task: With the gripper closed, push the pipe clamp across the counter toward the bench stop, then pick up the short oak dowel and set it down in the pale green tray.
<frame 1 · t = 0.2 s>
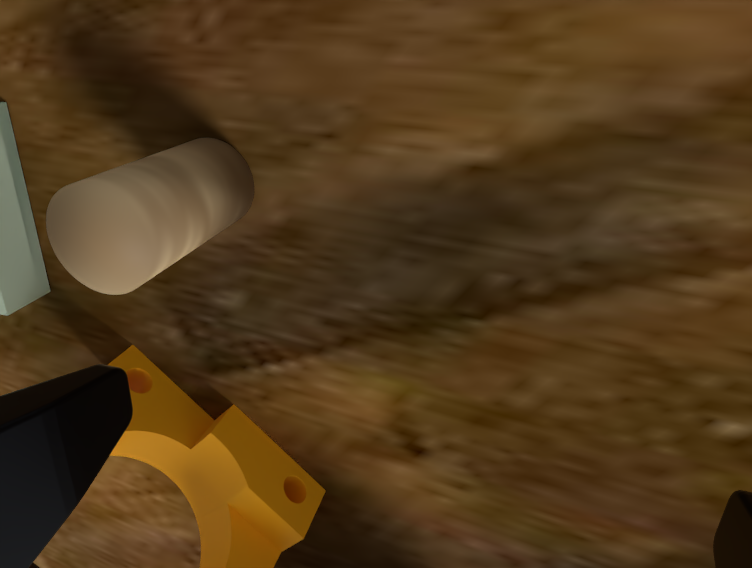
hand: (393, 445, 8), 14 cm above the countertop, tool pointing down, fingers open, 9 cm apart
oak dowel: (213, 182, 24), on the countertop
pipe clamp: (220, 425, 30), on the countertop
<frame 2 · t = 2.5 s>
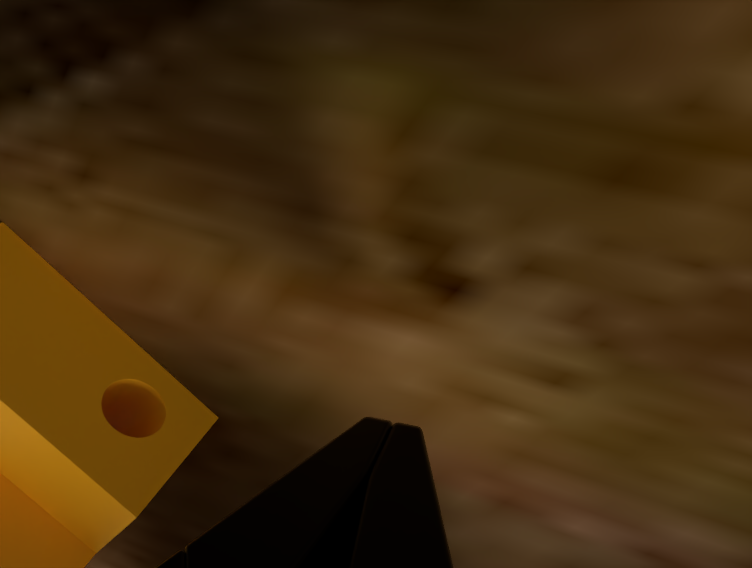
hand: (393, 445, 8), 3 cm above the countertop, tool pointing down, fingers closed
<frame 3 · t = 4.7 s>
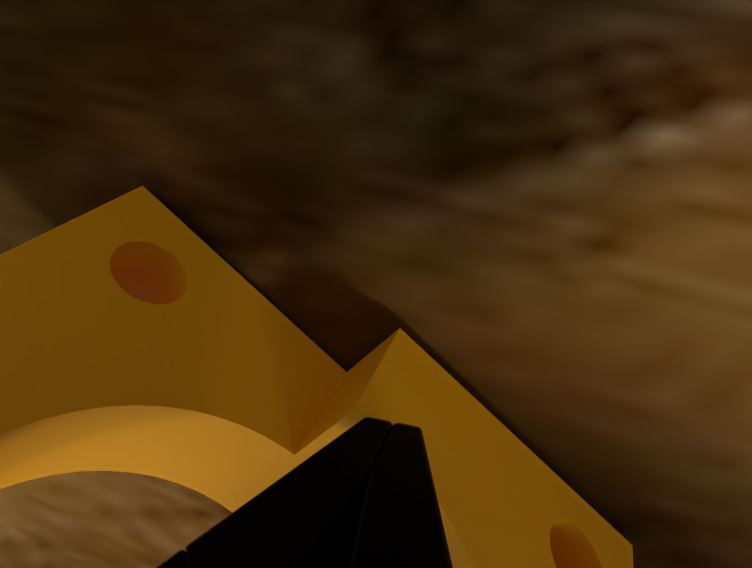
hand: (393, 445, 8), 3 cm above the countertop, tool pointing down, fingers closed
pipe clamp: (354, 390, 12), on the countertop
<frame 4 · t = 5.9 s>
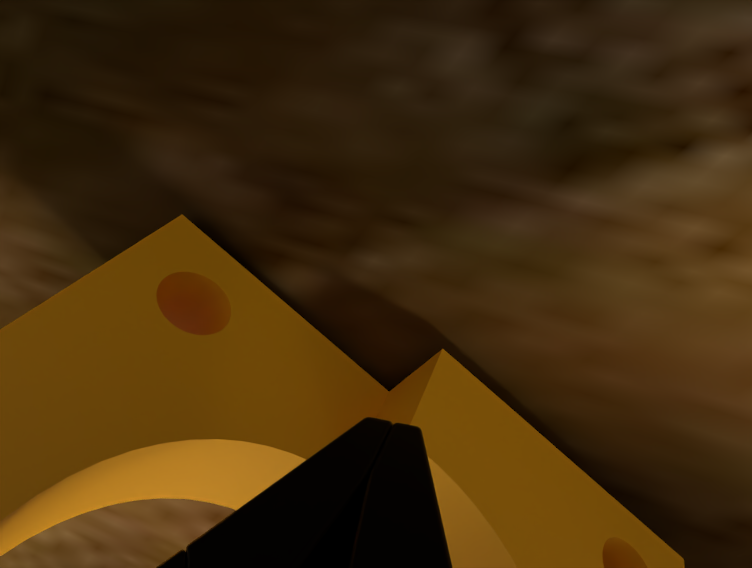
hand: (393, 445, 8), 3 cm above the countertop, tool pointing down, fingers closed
pipe clamp: (396, 408, 12), on the countertop, touching gripper
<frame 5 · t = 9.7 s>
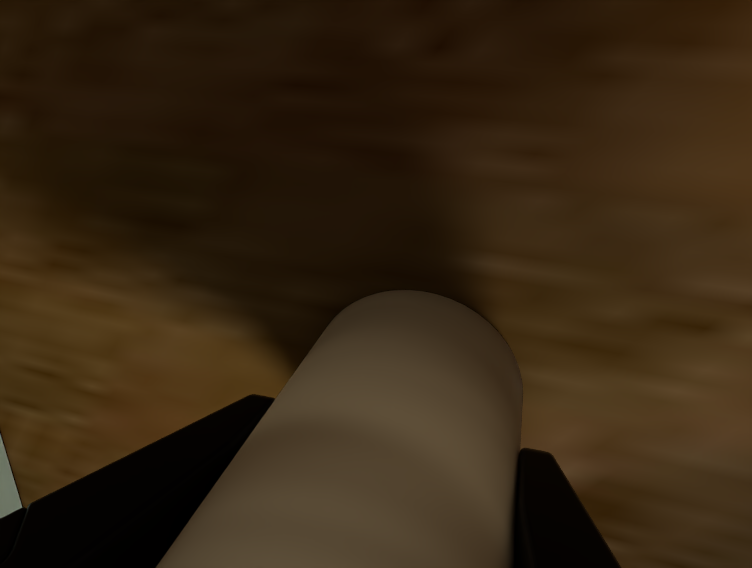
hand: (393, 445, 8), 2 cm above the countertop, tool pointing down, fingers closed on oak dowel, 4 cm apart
oak dowel: (414, 386, 10), on the countertop, touching gripper
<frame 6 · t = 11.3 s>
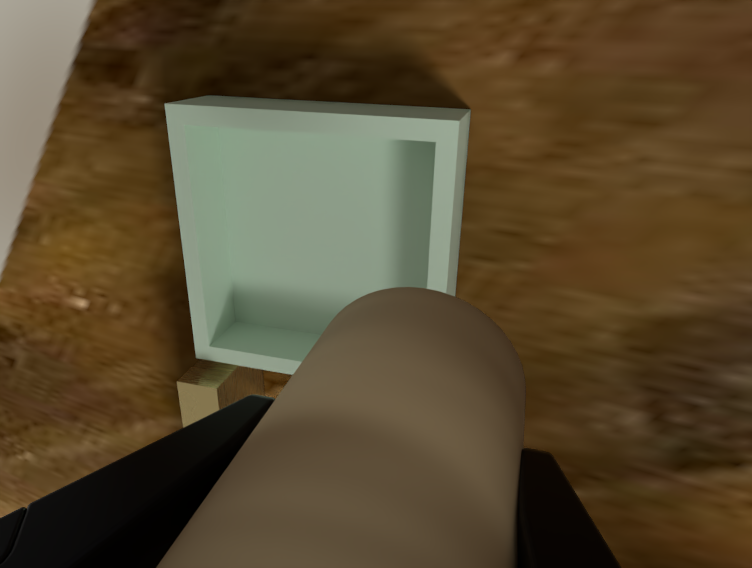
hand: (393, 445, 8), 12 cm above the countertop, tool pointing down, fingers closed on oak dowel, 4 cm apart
oak dowel: (416, 383, 10), point 10 cm above the countertop, touching gripper
bench stop: (252, 454, 26), on the countertop
tray: (333, 232, 21), on the countertop
when the fingers open (4 cm above the countertop, at t = 13.4 s): oak dowel drops 2 cm, resting on tray.
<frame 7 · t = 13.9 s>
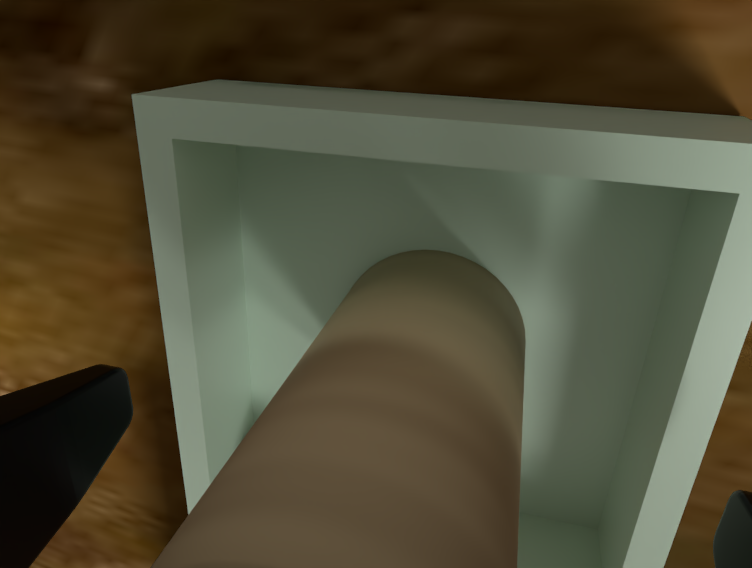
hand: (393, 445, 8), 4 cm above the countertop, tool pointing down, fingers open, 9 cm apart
oak dowel: (430, 336, 11), point 1 cm above the countertop, touching tray
tray: (434, 324, 12), on the countertop
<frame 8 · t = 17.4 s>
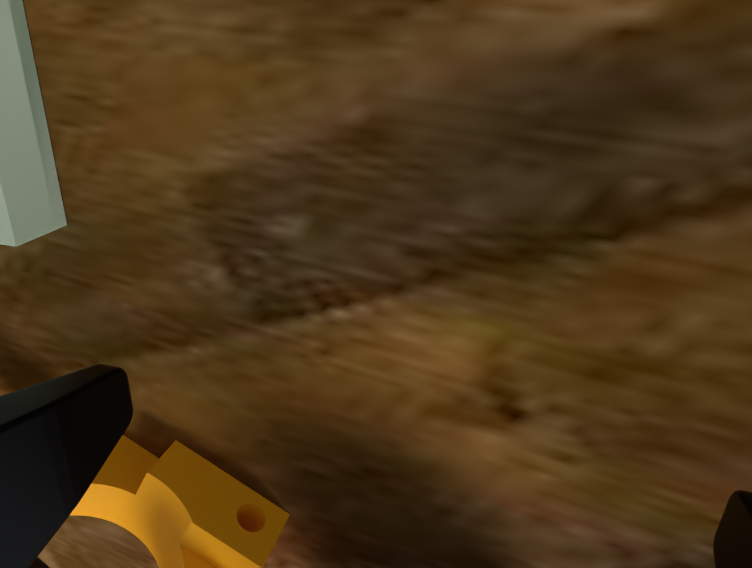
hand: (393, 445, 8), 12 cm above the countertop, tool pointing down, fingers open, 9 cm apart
pipe clamp: (173, 466, 29), on the countertop
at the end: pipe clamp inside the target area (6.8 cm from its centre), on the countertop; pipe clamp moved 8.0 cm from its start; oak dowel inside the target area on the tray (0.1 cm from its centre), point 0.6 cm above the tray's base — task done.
